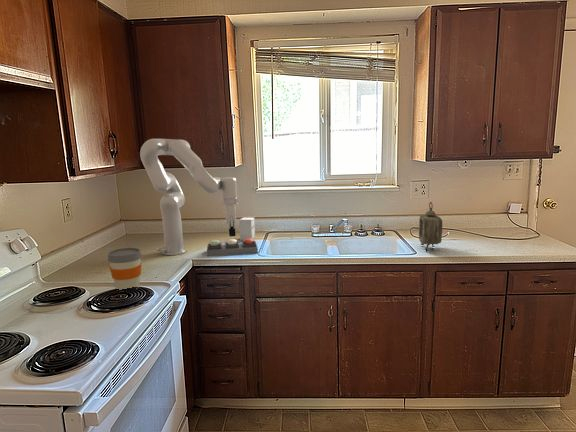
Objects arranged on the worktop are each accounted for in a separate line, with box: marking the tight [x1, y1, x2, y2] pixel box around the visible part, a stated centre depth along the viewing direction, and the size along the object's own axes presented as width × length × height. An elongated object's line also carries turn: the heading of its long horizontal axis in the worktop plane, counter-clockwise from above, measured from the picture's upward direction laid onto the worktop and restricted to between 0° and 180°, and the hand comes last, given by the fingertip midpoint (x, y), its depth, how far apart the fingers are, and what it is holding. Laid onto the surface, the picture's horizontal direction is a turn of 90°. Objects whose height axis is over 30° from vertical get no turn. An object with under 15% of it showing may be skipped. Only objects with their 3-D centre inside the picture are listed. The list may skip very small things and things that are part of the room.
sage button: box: [209, 239, 220, 246], centre depth 212 cm, size 5×5×2 cm
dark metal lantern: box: [418, 201, 443, 251], centre depth 211 cm, size 14×9×25 cm, turn 171°
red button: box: [244, 238, 255, 244], centre depth 215 cm, size 5×5×2 cm
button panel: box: [206, 240, 259, 257], centre depth 214 cm, size 26×10×4 cm, turn 99°
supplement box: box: [238, 217, 256, 242], centre depth 239 cm, size 7×7×13 cm
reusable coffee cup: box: [107, 247, 142, 290], centre depth 165 cm, size 13×13×15 cm
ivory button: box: [226, 238, 238, 245], centre depth 214 cm, size 5×5×2 cm
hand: (232, 235), depth 213 cm, fingers closed
